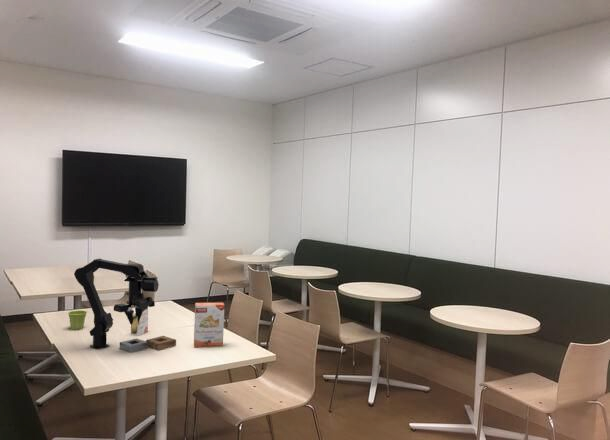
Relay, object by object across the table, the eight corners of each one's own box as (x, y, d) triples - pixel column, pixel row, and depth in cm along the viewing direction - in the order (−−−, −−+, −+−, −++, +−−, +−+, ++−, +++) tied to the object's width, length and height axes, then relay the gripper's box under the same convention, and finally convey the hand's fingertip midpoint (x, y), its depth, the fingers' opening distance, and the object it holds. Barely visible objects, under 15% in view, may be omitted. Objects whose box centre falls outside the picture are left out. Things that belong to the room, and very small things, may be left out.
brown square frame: (145, 346, 227) (146, 339, 227) (163, 341, 235) (163, 335, 235) (158, 350, 221) (158, 344, 221) (175, 345, 229) (176, 339, 229)
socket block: (119, 348, 222) (119, 342, 222) (136, 344, 229) (136, 338, 229) (130, 352, 217) (131, 346, 217) (147, 348, 224) (147, 342, 224)
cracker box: (194, 348, 227) (195, 305, 226) (193, 344, 233) (194, 302, 232) (223, 346, 231) (224, 304, 230) (222, 343, 237) (223, 301, 236)
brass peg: (129, 333, 222) (129, 316, 222) (135, 331, 225) (135, 315, 224) (133, 334, 221) (133, 317, 220) (138, 332, 223) (139, 316, 223)
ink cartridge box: (139, 330, 253) (140, 303, 253) (148, 331, 252) (148, 304, 252) (130, 334, 245) (131, 306, 244) (139, 335, 244) (140, 307, 243)
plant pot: (90, 326, 257) (90, 311, 257) (80, 331, 248) (80, 315, 247) (74, 325, 258) (74, 310, 258) (63, 330, 249) (63, 313, 248)
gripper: (127, 296, 210) (126, 330, 210) (162, 290, 225) (161, 322, 225) (113, 292, 216) (112, 326, 217) (148, 287, 231) (147, 318, 232)
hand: (134, 323), depth 222 cm, fingers closed on brass peg, 3 cm apart
